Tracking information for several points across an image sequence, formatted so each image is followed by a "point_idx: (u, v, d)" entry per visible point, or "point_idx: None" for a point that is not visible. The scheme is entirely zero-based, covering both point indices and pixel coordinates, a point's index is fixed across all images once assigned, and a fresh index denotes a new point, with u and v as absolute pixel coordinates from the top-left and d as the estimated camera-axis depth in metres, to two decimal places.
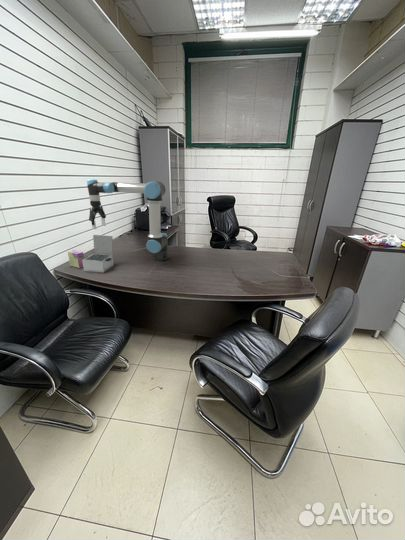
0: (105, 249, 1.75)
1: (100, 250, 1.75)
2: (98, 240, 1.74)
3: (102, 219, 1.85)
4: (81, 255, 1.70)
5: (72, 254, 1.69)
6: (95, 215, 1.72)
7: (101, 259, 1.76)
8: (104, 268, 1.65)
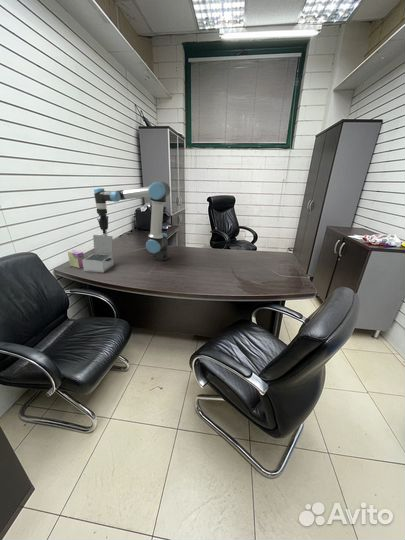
0: (105, 249, 1.75)
1: (100, 250, 1.75)
2: (98, 240, 1.74)
3: None
4: (81, 255, 1.70)
5: (72, 254, 1.69)
6: (104, 223, 1.79)
7: (101, 259, 1.76)
8: (104, 268, 1.65)
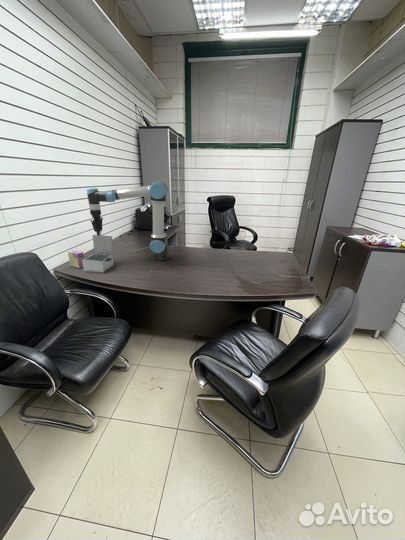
0: (105, 249, 1.74)
1: (100, 250, 1.75)
2: (98, 240, 1.73)
3: None
4: (81, 255, 1.70)
5: (72, 254, 1.69)
6: (98, 225, 1.71)
7: (101, 259, 1.76)
8: (104, 268, 1.65)
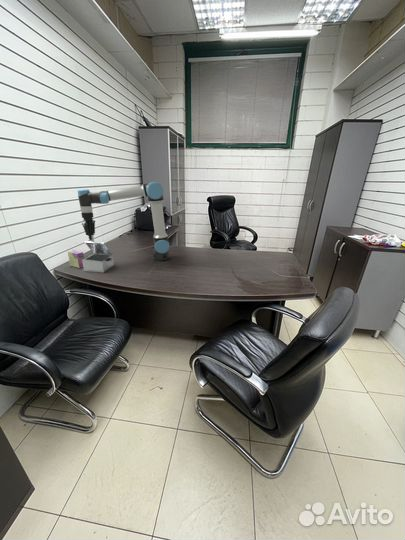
0: (103, 251, 1.72)
1: (98, 251, 1.73)
2: (92, 245, 1.67)
3: None
4: (81, 255, 1.70)
5: (72, 254, 1.69)
6: (90, 228, 1.62)
7: (101, 259, 1.76)
8: (104, 268, 1.65)
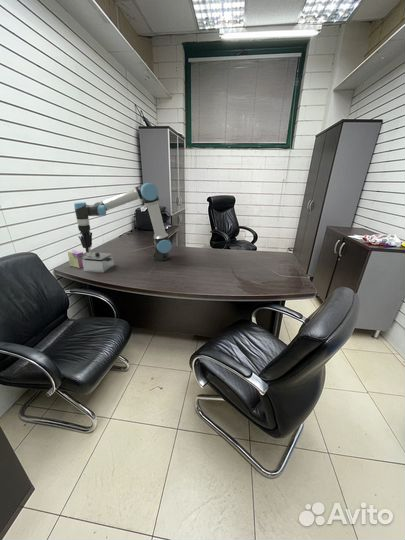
0: None
1: None
2: None
3: None
4: (81, 255, 1.70)
5: (72, 254, 1.69)
6: (87, 241, 1.59)
7: None
8: (104, 268, 1.65)
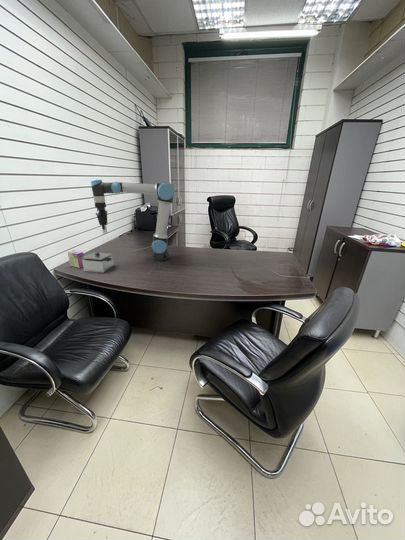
0: None
1: None
2: None
3: None
4: (81, 255, 1.70)
5: (72, 254, 1.69)
6: (103, 218, 1.66)
7: None
8: (104, 268, 1.65)
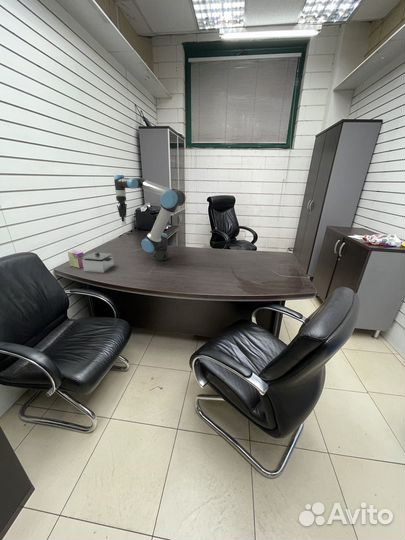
0: None
1: None
2: None
3: None
4: (81, 255, 1.70)
5: (72, 254, 1.69)
6: (123, 211, 1.80)
7: None
8: (104, 268, 1.65)
